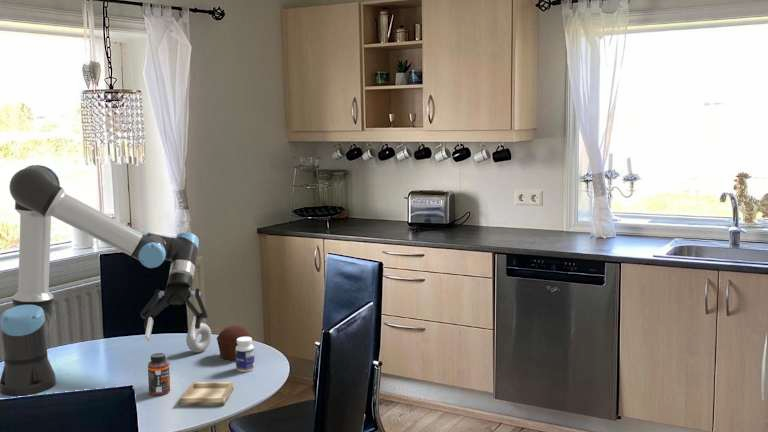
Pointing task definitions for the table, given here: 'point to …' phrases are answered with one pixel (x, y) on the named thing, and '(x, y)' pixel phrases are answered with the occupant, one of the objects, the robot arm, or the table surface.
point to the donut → (203, 342)
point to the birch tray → (207, 394)
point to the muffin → (230, 341)
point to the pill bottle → (244, 354)
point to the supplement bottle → (158, 374)
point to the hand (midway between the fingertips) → (169, 338)
